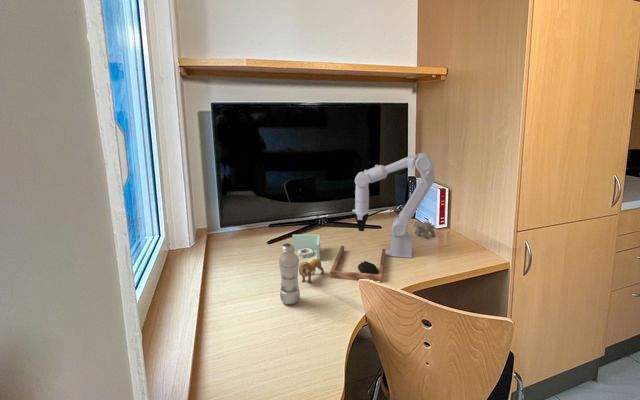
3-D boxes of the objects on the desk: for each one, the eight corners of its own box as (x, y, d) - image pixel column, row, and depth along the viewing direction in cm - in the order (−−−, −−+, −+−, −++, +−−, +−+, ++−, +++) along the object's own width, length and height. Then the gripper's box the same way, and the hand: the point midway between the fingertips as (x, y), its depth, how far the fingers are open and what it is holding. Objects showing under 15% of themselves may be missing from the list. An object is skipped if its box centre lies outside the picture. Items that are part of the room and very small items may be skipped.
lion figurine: (308, 289, 125) (308, 265, 122) (295, 286, 127) (294, 263, 125) (326, 271, 137) (326, 250, 135) (314, 269, 140) (313, 248, 137)
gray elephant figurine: (436, 235, 173) (437, 220, 171) (429, 242, 163) (431, 226, 161) (417, 232, 178) (418, 217, 176) (410, 239, 168) (411, 223, 166)
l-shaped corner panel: (293, 250, 159) (292, 234, 157) (320, 250, 158) (319, 234, 156) (290, 261, 147) (289, 245, 145) (319, 261, 147) (319, 244, 145)
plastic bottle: (289, 294, 121) (287, 239, 116) (304, 300, 117) (302, 244, 112) (276, 302, 117) (272, 246, 111) (291, 309, 112) (288, 251, 107)
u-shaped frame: (385, 254, 152) (385, 249, 151) (381, 282, 128) (381, 276, 128) (341, 251, 156) (341, 245, 155) (330, 277, 132) (329, 271, 132)
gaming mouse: (367, 261, 146) (368, 252, 145) (381, 278, 132) (381, 268, 131) (353, 263, 145) (353, 254, 144) (364, 280, 131) (365, 270, 130)
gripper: (354, 195, 158) (354, 224, 161) (350, 204, 144) (349, 235, 148) (370, 196, 156) (370, 225, 160) (367, 205, 143) (366, 237, 146)
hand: (361, 230), depth 154 cm, fingers closed
